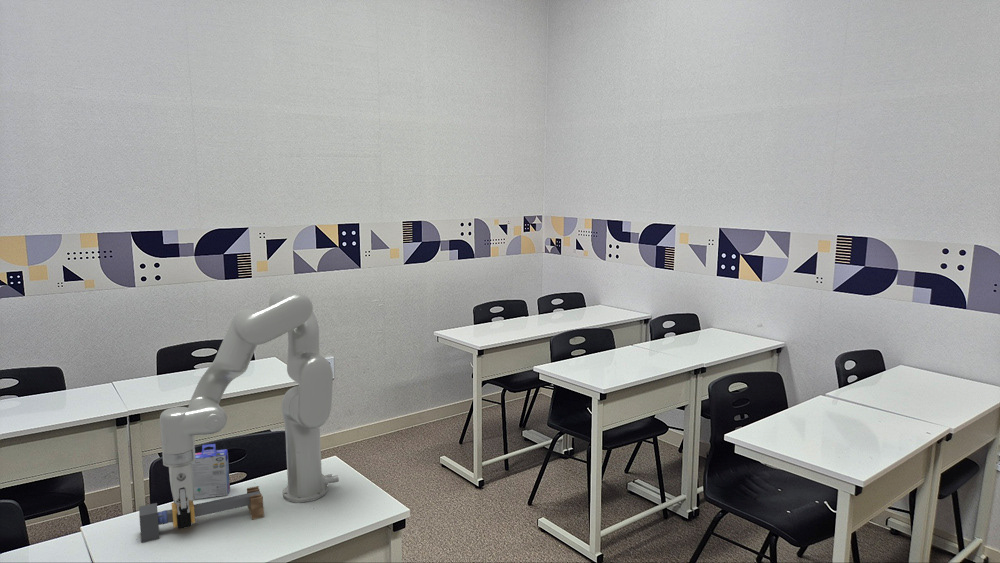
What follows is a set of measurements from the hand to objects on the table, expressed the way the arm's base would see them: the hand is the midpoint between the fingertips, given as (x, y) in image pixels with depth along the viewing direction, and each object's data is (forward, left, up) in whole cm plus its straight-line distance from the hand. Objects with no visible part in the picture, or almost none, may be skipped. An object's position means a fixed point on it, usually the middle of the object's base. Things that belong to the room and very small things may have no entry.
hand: (183, 522), depth 170 cm
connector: (+8, 0, -2) cm, 8 cm away
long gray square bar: (-6, 0, +1) cm, 6 cm away
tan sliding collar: (0, 0, 0) cm, 0 cm away
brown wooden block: (-18, 0, -2) cm, 18 cm away
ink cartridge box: (-8, -18, -2) cm, 20 cm away
